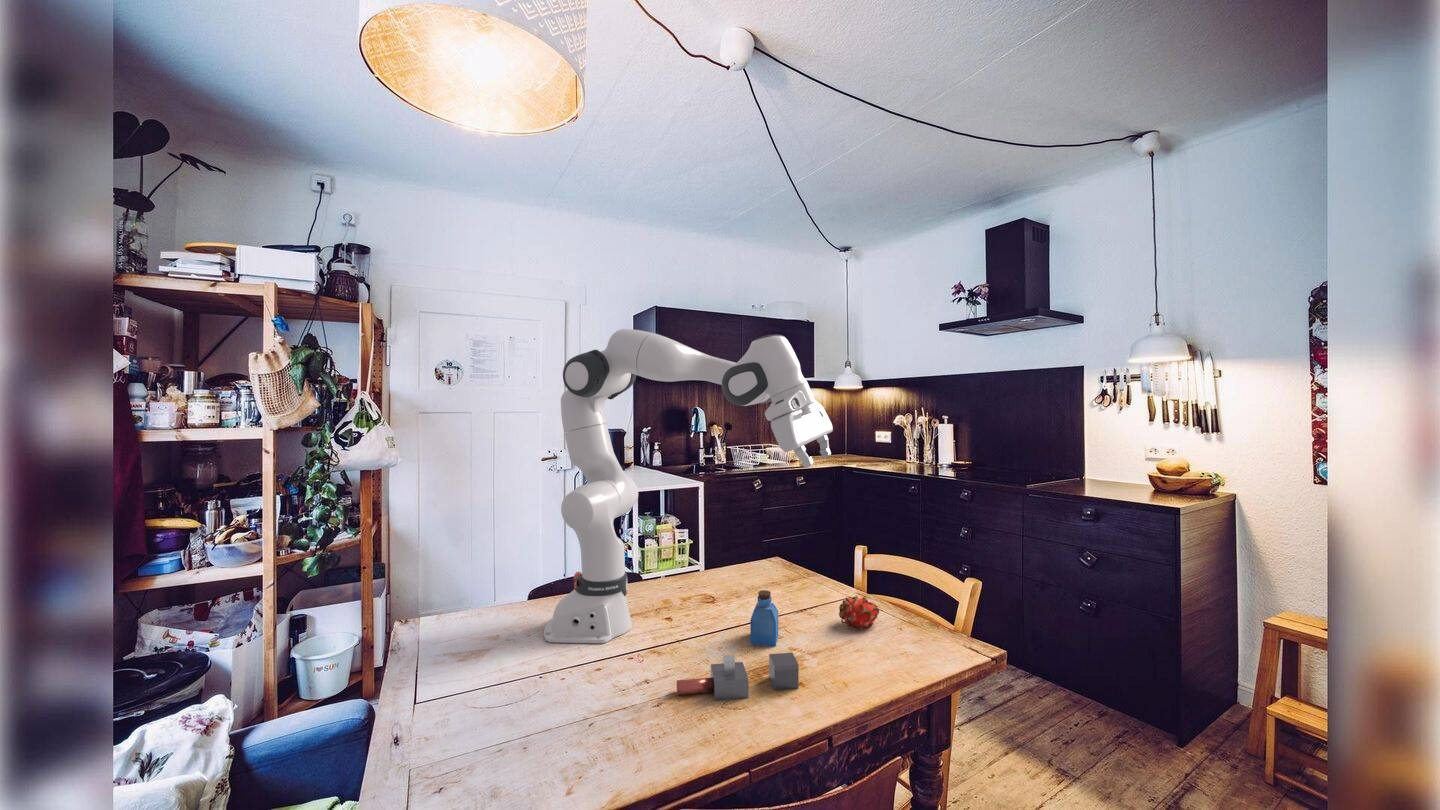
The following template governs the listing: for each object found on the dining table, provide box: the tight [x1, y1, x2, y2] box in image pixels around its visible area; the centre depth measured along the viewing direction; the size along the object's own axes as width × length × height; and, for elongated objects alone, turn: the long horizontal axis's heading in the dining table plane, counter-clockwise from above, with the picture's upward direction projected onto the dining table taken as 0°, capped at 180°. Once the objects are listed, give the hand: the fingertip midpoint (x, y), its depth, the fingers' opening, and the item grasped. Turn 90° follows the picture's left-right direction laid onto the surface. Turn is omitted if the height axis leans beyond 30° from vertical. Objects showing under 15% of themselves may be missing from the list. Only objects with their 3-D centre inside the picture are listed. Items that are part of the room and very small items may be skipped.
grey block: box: [768, 652, 800, 691], centre depth 126 cm, size 5×5×5 cm
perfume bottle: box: [749, 589, 779, 647], centre depth 145 cm, size 6×6×12 cm
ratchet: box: [676, 654, 749, 701], centre depth 123 cm, size 14×7×7 cm, turn 97°
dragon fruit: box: [838, 595, 880, 630], centre depth 153 cm, size 8×8×12 cm
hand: (818, 461), depth 128 cm, fingers open, 8 cm apart
